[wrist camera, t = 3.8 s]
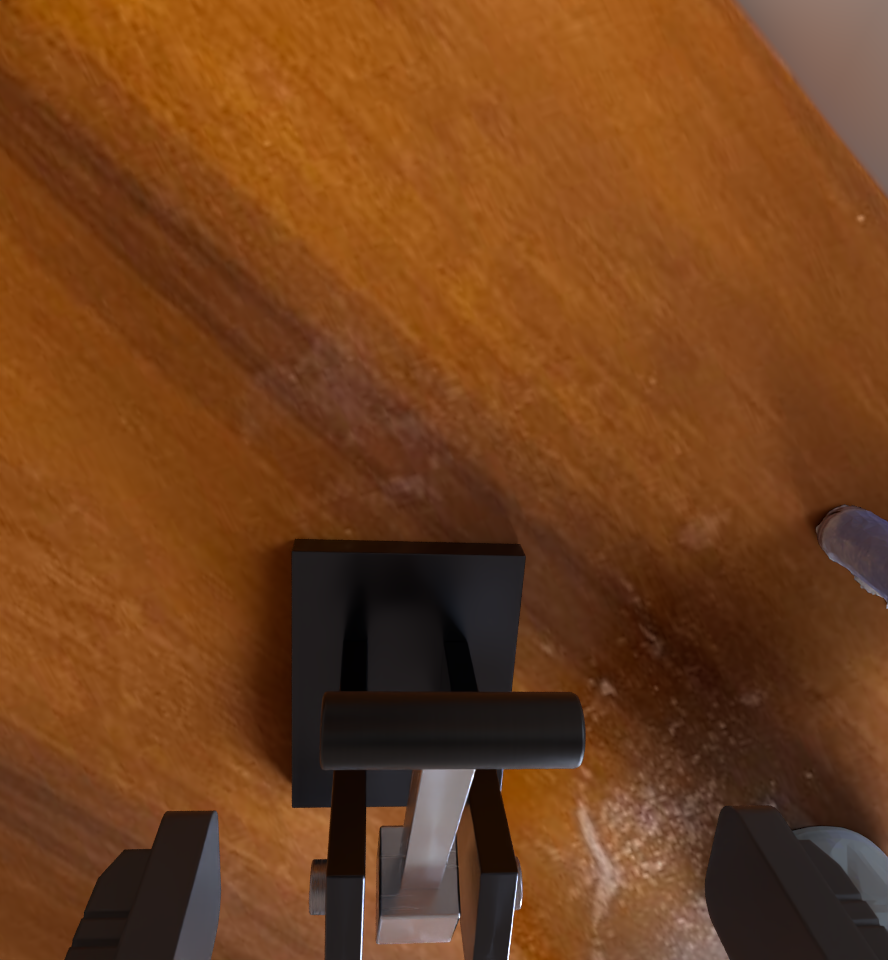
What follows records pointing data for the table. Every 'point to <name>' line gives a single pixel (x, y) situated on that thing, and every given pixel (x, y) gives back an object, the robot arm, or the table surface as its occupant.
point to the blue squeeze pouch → (858, 546)
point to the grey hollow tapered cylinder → (855, 863)
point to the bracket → (405, 668)
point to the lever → (440, 781)
